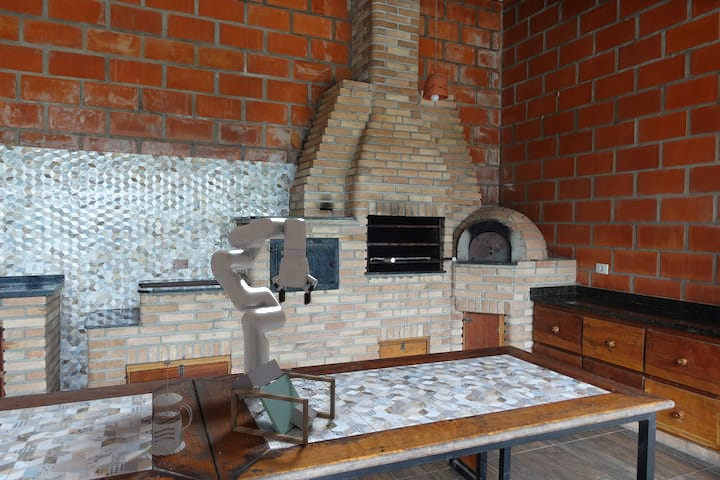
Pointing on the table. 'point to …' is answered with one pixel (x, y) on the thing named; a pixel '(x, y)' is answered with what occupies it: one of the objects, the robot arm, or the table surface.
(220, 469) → the table surface
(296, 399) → the stand
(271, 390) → the hatch door
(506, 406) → the table surface
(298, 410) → the smooth gray block
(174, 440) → the french press
